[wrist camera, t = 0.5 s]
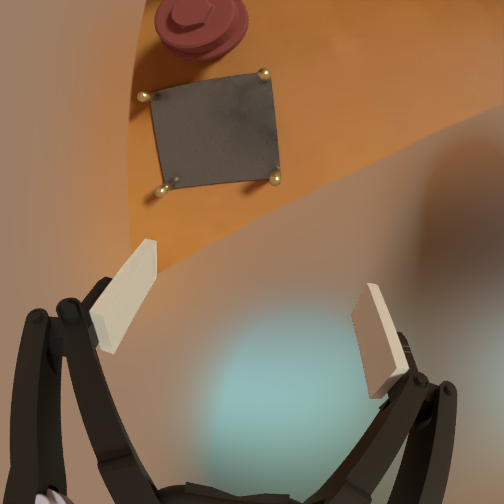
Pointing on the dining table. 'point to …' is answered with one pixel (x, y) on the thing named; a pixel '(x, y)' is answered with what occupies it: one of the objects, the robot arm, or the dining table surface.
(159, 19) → the mechanical component
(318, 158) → the dining table surface
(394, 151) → the dining table surface
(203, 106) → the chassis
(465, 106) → the dining table surface
